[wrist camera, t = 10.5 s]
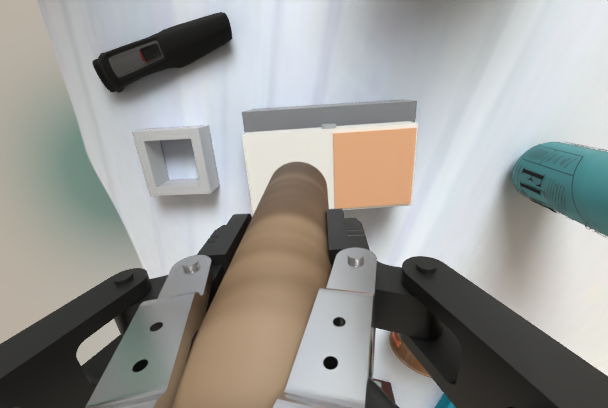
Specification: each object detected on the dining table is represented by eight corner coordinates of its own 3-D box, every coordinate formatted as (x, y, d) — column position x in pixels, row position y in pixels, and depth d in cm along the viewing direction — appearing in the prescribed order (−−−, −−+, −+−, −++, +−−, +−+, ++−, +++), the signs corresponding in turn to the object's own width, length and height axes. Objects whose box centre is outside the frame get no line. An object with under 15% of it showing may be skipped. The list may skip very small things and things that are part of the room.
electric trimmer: (244, 48, 29) (235, 42, 26) (116, 95, 31) (96, 95, 28) (230, 7, 28) (220, -4, 25) (98, 59, 30) (74, 55, 27)
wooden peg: (264, 163, 17) (84, 453, 4) (325, 159, 16) (350, 457, 4) (272, 217, 18) (161, 558, 5) (328, 214, 18) (354, 566, 5)
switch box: (253, 109, 31) (235, 113, 24) (401, 99, 30) (424, 101, 23) (264, 194, 35) (251, 217, 28) (396, 188, 33) (414, 212, 27)
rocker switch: (245, 128, 24) (240, 132, 22) (408, 117, 24) (420, 119, 22) (256, 211, 26) (253, 221, 24) (402, 200, 27) (412, 209, 25)
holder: (148, 128, 32) (132, 132, 30) (208, 125, 32) (197, 128, 29) (163, 187, 35) (150, 196, 32) (219, 185, 34) (210, 193, 32)
